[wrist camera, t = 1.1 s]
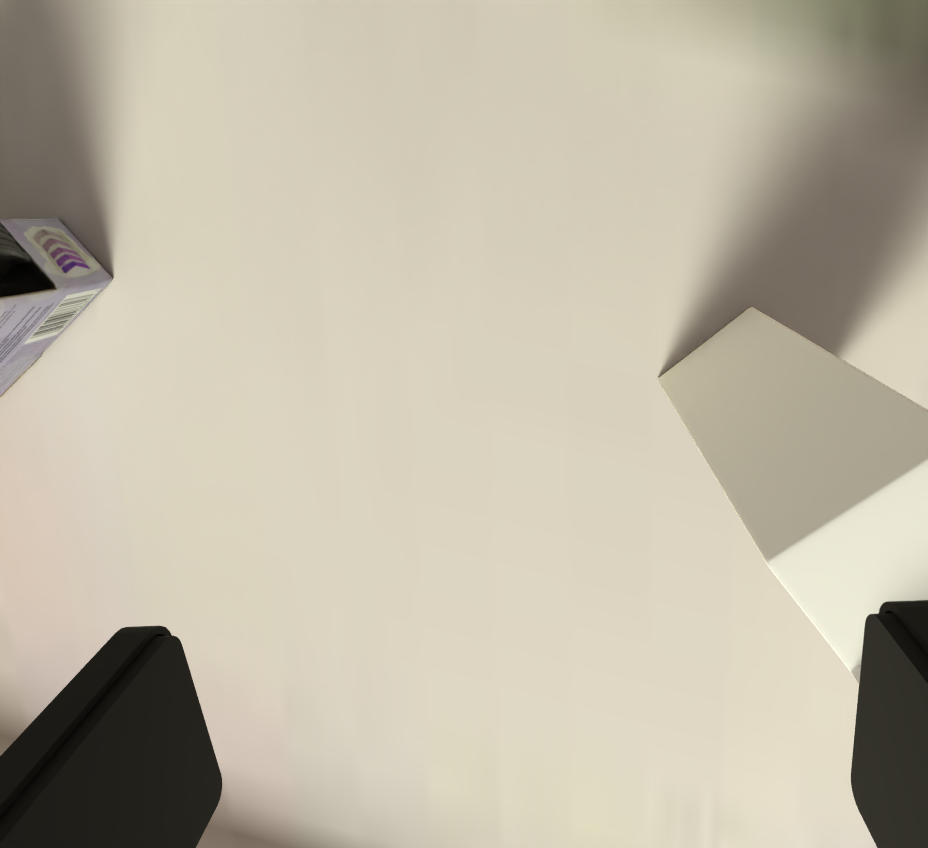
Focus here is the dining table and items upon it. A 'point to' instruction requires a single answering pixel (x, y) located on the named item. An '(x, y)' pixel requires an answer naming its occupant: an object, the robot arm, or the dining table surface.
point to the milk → (813, 469)
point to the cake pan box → (40, 289)
